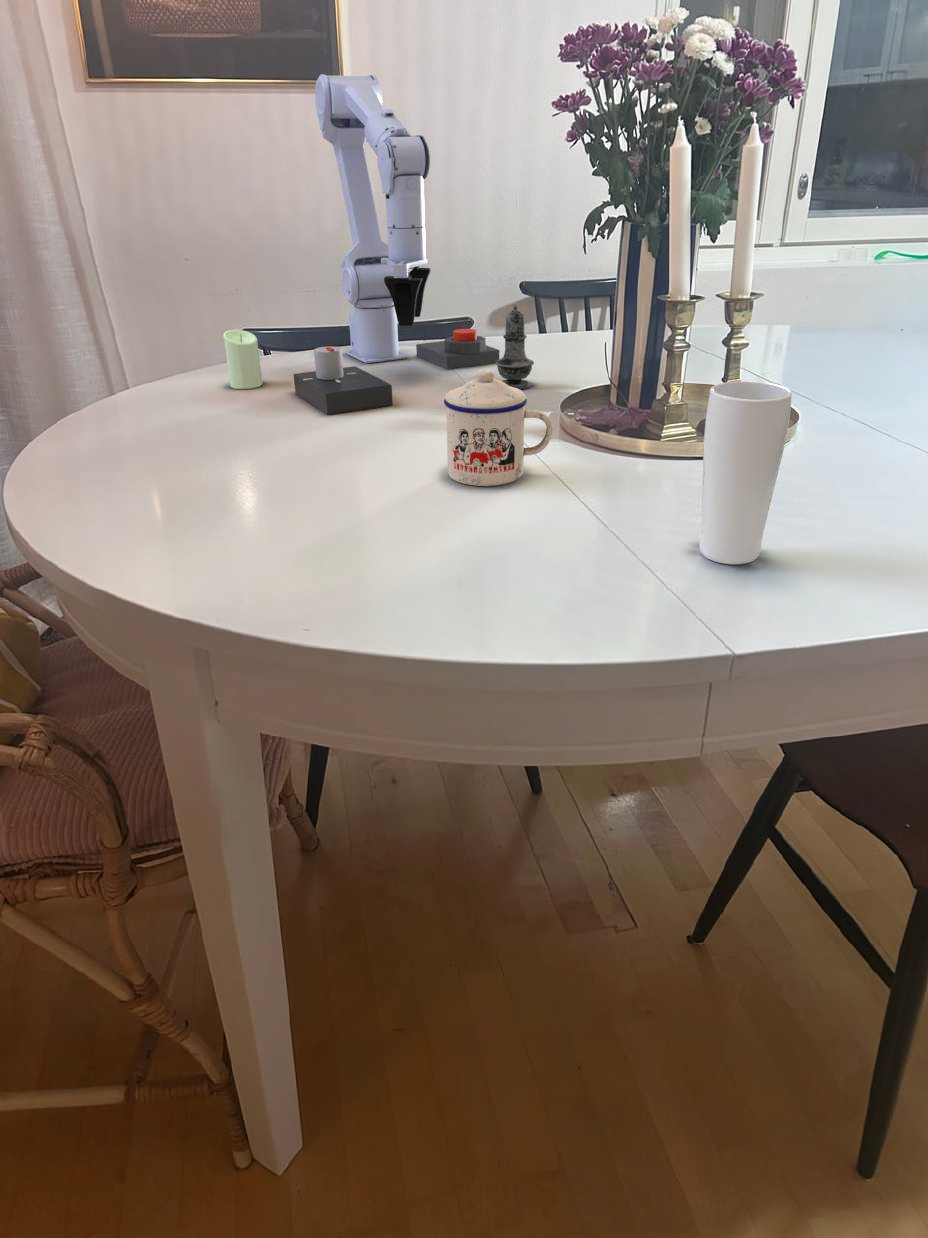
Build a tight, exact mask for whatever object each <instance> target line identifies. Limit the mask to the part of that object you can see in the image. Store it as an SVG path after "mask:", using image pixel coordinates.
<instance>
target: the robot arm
mask: <svg viewBox="0 0 928 1238" xmlns="http://www.w3.org/2000/svg"><path fill="white" fill-rule="evenodd" d="M314 95H315V97H314V99H315V100H314V101H315V103H314V104H315V109H316V114H317V119H318V125H319V129H320V131H321V135H322V138H323V139H324V140H326V141H327V142H329V143H330V144H331V146H332V148H333V152H334V155H335V160H336V163H337V169H338V175H339V180H340V185H341V190H342V195H343V199H344V205H345V210H346V214H347V220H348V224H349V229H350V234H351V240H352V244H353V245H352V247H351V248H350V249H349V250H348V251H347V252H346V253H344V256H343V257H342V259H341V264H340V271H341V285H342V292H343V295H344V298H345V299H346V300H347V302H348V303H349V304H350V305H352V306H353V307H352V309H351V310H350V312H349V316H348V323H349V337H350V338H349V339H350V350H347V351H345V353H346V354H347V355H348V356H350V357H352V358H354V359H356V360H358V361H360V362H363V363H365V364H373V363H379V362H389V361H395V360H403V359H408V355H407V354H406V353H402V352H400V351H399V333H398V332H399V331H398V330H399V329H398V328H399V327H412V326H414V323H415V318H420V317H421V313H422V308H423V302H424V295H425V289H426V285H427V282H428V278H429V276H430V274H431V272H432V271H431V270H432V269H431V268H430V267H421V266H426V265H427V264H428V257H427V248H426V247H427V244H426V242H427V241H426V212H425V209H426V208H425V181H424V180H426V179H427V177H428V175H429V173H430V167H431V155H430V148H429V144H428V141H427V140H426V138H425V136H424V135H423V134H416V135H412V134H411V133H410V132H409V131H408V129H407V128H406V127H405V125H404V123H403V122H402V121H401V119H400V118H399V117H398V115H397V114H396V113H395V112H394V110H393V109H392V108H384V106H383V90H382V85H381V83H380V81H379V79H378V77H377V76H376V75H375V74H369V75H326V74H325V73H323V74H319V76H318V78H317V79H316V82H315V89H314ZM366 143H368V144H369V147H370V148H371V149H372V151H373V152H374V153H375V155H376V158H377V159H376V160H377V167H378V173H379V176H380V181H381V189H382V193H383V194H385V211H386V228H387V229H386V230H387V231H386V233H387V243H386V242H385V241H383V240H382V236H381V235H382V234H381V230H380V225H379V219H378V215H377V210H376V204H375V200H374V194H373V190H372V183H371V179H370V174H369V169H368V168H369V167H368V163H367V159H366V154H365V144H366ZM398 326H399V327H398Z"/></svg>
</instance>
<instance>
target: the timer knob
mask: <svg viewBox="0 0 928 1238" xmlns="http://www.w3.org/2000/svg"><path fill="white" fill-rule="evenodd" d="M313 351H314V352H313V355H314V366H315V371H316V377H317V378H318V379H321V380H334V379H340V378H342V377H343V376H344V375H343V368H344V364H343V349H342V348H341V347H339V346H321V347H320V346H319V347H316V348H314V349H313Z"/></svg>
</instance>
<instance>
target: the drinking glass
mask: <svg viewBox="0 0 928 1238" xmlns="http://www.w3.org/2000/svg"><path fill="white" fill-rule="evenodd" d="M792 397H793V393H792V391H791V390H790V389H789V388H786V387H784V386H782V385H778V384H774V383H769V382H763V381H762V382H761V381H745V380H744V381H743V380H740V381H738V380H737V381H725V382H721V383H718V384H715V385H713V386H711V387H710V389H709V394H708V400H707V406H706V413H705V419H704V420H705V421H704V430H703V431H704V432H703V447H702V448H703V452H702V496H701V522H700V523H701V525H700V537H699V551H700V553H701V554H702V555H703V556H704V557H705V558H706V559H708V560H710V561H712V562H715V563H719V564H722V565H723V564H724V565H745V564H749V563H752V562H753V561H755V560H756V559H757V558H758V557H759V555H760V553H761V549H762V543H763V536H764V531H765V527H766V523H767V519H768V515H769V511H770V507H771V502H772V499H773V494H774V491H775V486H776V482H777V478H778V475H779V471H780V467H781V462H782V458H783V454H784V449H785V446H786V440H787V436H788V431H789V425H790V416H791V410H792V409H791V407H792V399H793V398H792Z"/></svg>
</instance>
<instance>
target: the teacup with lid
mask: <svg viewBox="0 0 928 1238" xmlns="http://www.w3.org/2000/svg"><path fill="white" fill-rule="evenodd" d="M495 375H496V374H495V372H494V371H493V370H492V369H480V370H478V371H477V372H476V373H475V379H472V380H468V381H467V382H466V383H464V384H463V385H462V386H459V387H455V388H453V389H450V390H449V391H448V392H447V393H446V394H445V396H444V399H443V404H444V406H445V407H446V409H445V411H446V412H445V413H446V453H447V454H446V455H447V456H446V457H447V474H448V476H449V477H450V478H451V479H452V480H454V482H455V481H456V482H457V483H460V484H464V485H469V486H475V487H476V486H478V487H494V486H502V485H506V484H511V483H512V482H515V481H517V480H519V479H521V477H522V476H523V474H524V462H525V461H524V459H525V458H524V457H525V456H532V455H537V454H539V453H541V452H542V451H544V450H545V449H546V448H547V446H548V445H549V443H550V442H551V439H552V436H553V429H554V428H553V427H554V426H553V422H552V420H551V418H550V417H549V416H548V415H547V414H546V413H545V412H543V411H541V410H535V409H529V410H528V409H526V410H525V406H526V405H527V403H528V400H527V396H526V393H524V391H523V390H522V389H521V390H519V389H517V388H514V387H511V386H508V385H507V384H505V383H504V382H502V381H503V380H500V379H496V378H495ZM525 419H539V420H541V421H542V422H543V423H544V424H545V426H546V431H545V434H544V435H543V438H542V440H541V441H540V442H539V443H538V444H536V445H534V446H530V447H525Z"/></svg>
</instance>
